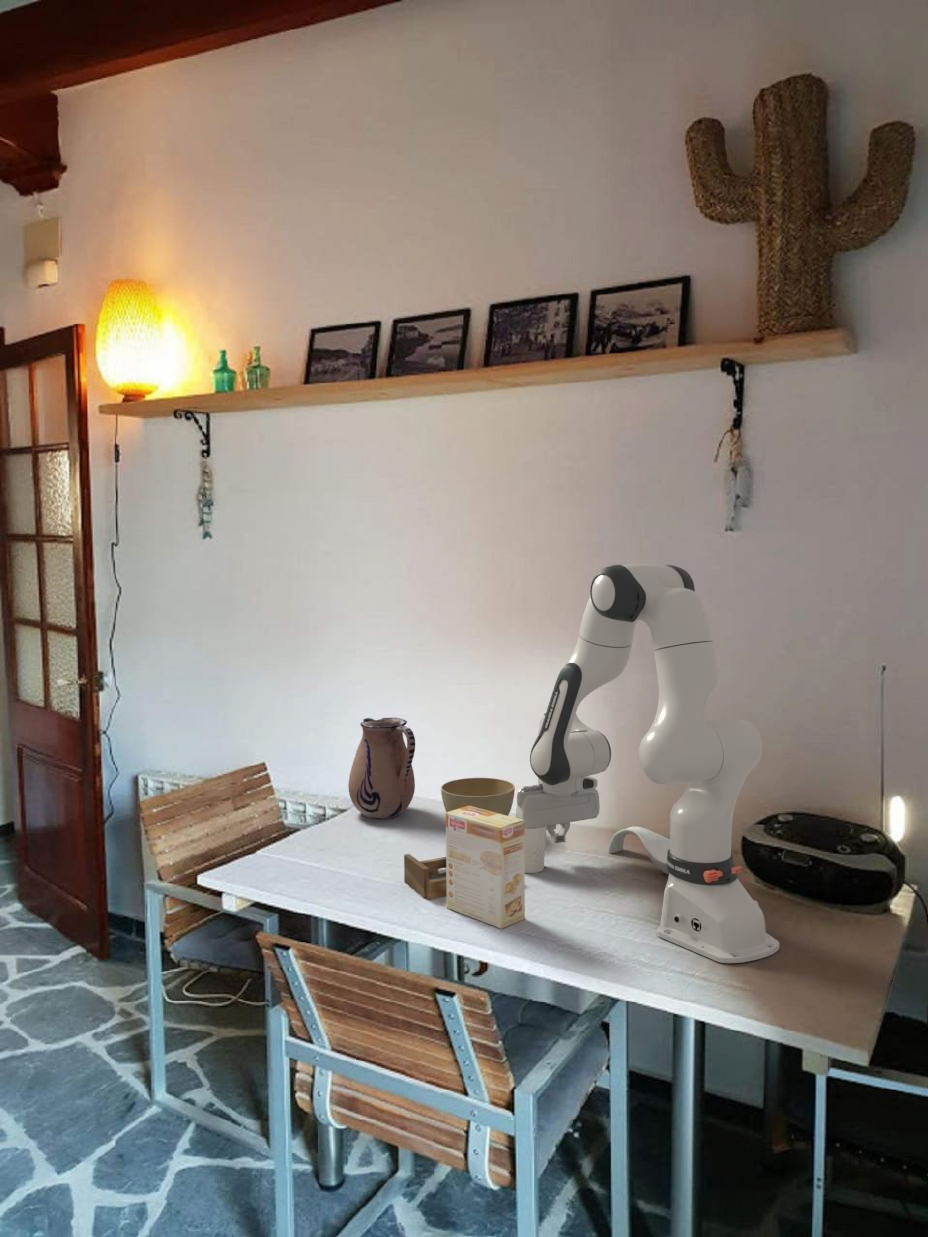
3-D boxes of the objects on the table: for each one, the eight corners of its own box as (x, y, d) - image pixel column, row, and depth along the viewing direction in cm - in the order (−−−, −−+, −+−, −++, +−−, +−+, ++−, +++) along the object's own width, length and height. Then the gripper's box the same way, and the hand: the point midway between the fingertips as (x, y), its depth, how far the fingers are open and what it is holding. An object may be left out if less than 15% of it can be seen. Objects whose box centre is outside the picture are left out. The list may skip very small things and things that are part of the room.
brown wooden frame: (487, 864, 211) (487, 838, 210) (515, 882, 200) (515, 855, 199) (402, 880, 202) (401, 853, 201) (426, 900, 191) (425, 871, 190)
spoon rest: (716, 873, 206) (716, 840, 205) (683, 886, 198) (684, 853, 197) (629, 846, 223) (629, 817, 223) (596, 858, 215) (596, 827, 215)
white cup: (522, 859, 214) (522, 816, 213) (553, 866, 210) (553, 822, 209) (504, 870, 208) (503, 825, 207) (534, 877, 203) (534, 831, 202)
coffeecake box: (526, 919, 181) (526, 819, 179) (501, 930, 176) (500, 828, 174) (470, 898, 192) (469, 804, 190) (445, 908, 187) (444, 811, 185)
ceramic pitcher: (378, 801, 262) (377, 712, 260) (439, 813, 250) (438, 720, 248) (335, 817, 248) (333, 722, 246) (397, 831, 236) (396, 732, 234)
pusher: (452, 872, 205) (452, 850, 205) (471, 886, 197) (471, 862, 197) (430, 876, 203) (430, 854, 202) (448, 890, 195) (448, 867, 194)
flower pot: (520, 826, 239) (520, 778, 238) (507, 849, 221) (507, 798, 220) (451, 821, 243) (450, 775, 242) (433, 844, 225) (432, 794, 224)
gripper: (524, 791, 203) (524, 854, 204) (603, 779, 212) (603, 839, 213) (510, 784, 209) (510, 845, 210) (587, 773, 218) (587, 832, 219)
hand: (557, 842), depth 212 cm, fingers closed
